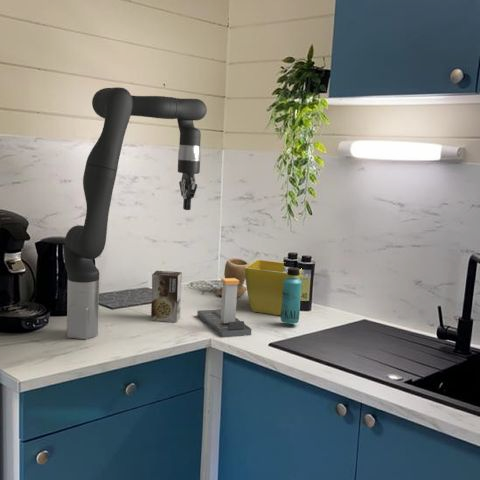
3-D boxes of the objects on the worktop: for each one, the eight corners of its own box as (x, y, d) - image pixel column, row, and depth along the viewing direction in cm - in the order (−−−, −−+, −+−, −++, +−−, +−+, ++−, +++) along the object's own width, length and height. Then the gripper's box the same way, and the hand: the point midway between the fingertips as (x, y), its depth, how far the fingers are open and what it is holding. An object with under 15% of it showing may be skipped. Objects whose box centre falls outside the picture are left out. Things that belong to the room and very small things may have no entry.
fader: (236, 322, 197) (239, 280, 195) (223, 323, 196) (225, 281, 193) (232, 319, 201) (234, 278, 199) (219, 320, 199) (221, 278, 197)
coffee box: (180, 317, 208) (182, 271, 206) (176, 322, 202) (178, 275, 199) (154, 315, 209) (156, 269, 207) (150, 320, 203) (151, 273, 200)
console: (251, 335, 193) (252, 321, 193) (222, 337, 189) (222, 323, 189) (223, 314, 215) (224, 302, 214) (197, 316, 211) (197, 303, 210)
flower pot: (302, 307, 232) (305, 264, 229) (292, 320, 214) (296, 273, 211) (254, 301, 237) (257, 259, 234) (241, 313, 219) (244, 267, 216)
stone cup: (241, 301, 236) (243, 263, 233) (213, 296, 240) (215, 259, 237) (253, 293, 250) (256, 257, 248) (227, 289, 254) (229, 254, 252)
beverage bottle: (286, 321, 211) (290, 265, 208) (302, 325, 207) (307, 268, 204) (276, 325, 206) (280, 267, 203) (292, 329, 202) (297, 271, 199)
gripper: (172, 157, 209) (170, 207, 212) (184, 159, 197) (182, 212, 200) (193, 158, 212) (191, 207, 215) (206, 160, 200) (203, 212, 203)
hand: (186, 209), depth 207 cm, fingers closed
